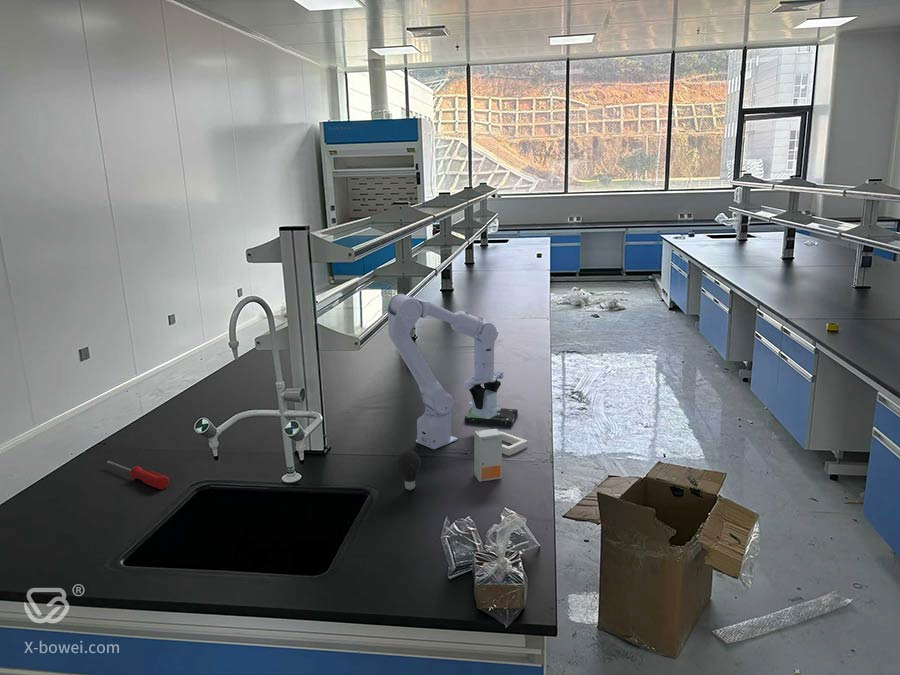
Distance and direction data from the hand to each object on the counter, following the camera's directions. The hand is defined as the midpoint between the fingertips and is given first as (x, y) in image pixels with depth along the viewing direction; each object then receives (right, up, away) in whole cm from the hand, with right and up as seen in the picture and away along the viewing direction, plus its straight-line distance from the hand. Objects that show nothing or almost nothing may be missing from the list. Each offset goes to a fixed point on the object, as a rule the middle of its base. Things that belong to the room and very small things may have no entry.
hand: (484, 406), depth 186 cm
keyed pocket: (+5, -10, -9) cm, 14 cm away
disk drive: (+3, -6, +12) cm, 13 cm away
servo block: (0, -2, +1) cm, 2 cm away
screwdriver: (-91, -16, -23) cm, 95 cm away
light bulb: (-20, -17, -33) cm, 42 cm away
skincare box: (0, -15, -27) cm, 31 cm away
